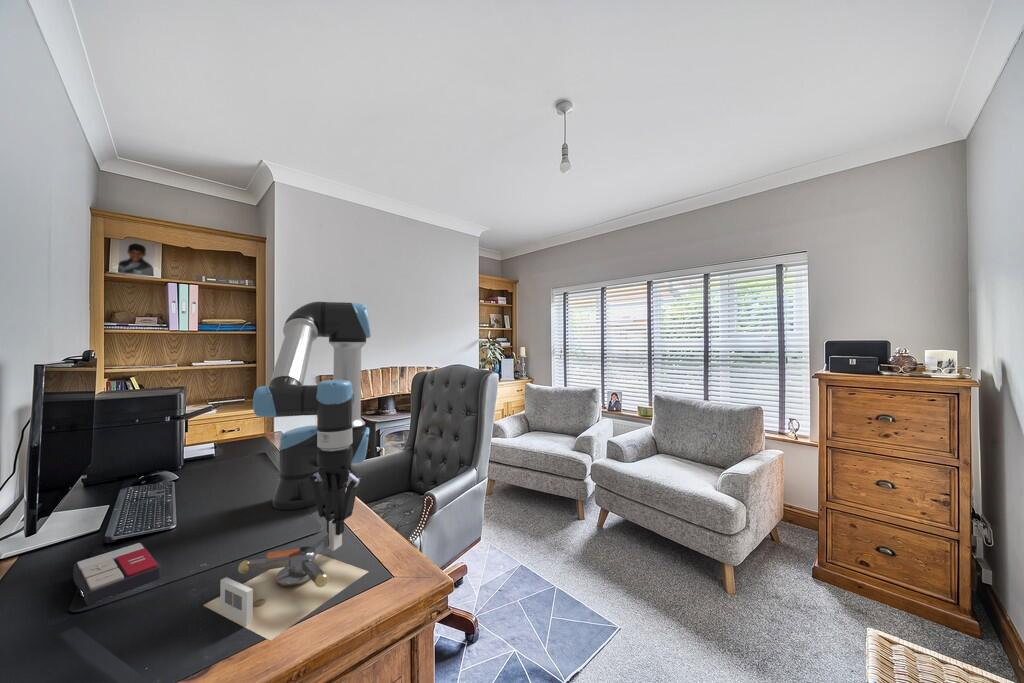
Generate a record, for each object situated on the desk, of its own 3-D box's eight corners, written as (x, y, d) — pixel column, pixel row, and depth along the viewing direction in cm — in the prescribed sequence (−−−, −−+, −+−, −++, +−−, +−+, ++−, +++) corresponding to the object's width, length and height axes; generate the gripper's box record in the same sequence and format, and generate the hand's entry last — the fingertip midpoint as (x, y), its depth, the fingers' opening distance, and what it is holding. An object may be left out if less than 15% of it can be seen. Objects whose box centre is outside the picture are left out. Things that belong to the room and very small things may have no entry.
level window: (226, 608, 73) (226, 576, 73) (253, 622, 70) (253, 588, 70) (219, 612, 72) (219, 580, 72) (246, 626, 69) (246, 592, 69)
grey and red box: (87, 589, 76) (73, 560, 84) (87, 611, 76) (72, 579, 84) (161, 563, 85) (141, 539, 93) (161, 582, 85) (141, 556, 93)
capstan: (301, 542, 97) (302, 519, 97) (376, 553, 92) (376, 529, 92) (234, 587, 79) (235, 559, 79) (322, 603, 75) (322, 573, 75)
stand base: (306, 555, 94) (306, 548, 94) (368, 578, 86) (368, 569, 86) (202, 613, 74) (203, 603, 74) (270, 649, 66) (270, 638, 66)
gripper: (300, 448, 89) (300, 551, 89) (347, 453, 86) (347, 560, 86) (324, 440, 96) (324, 535, 97) (368, 444, 93) (369, 543, 93)
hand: (335, 547), depth 91 cm, fingers closed
